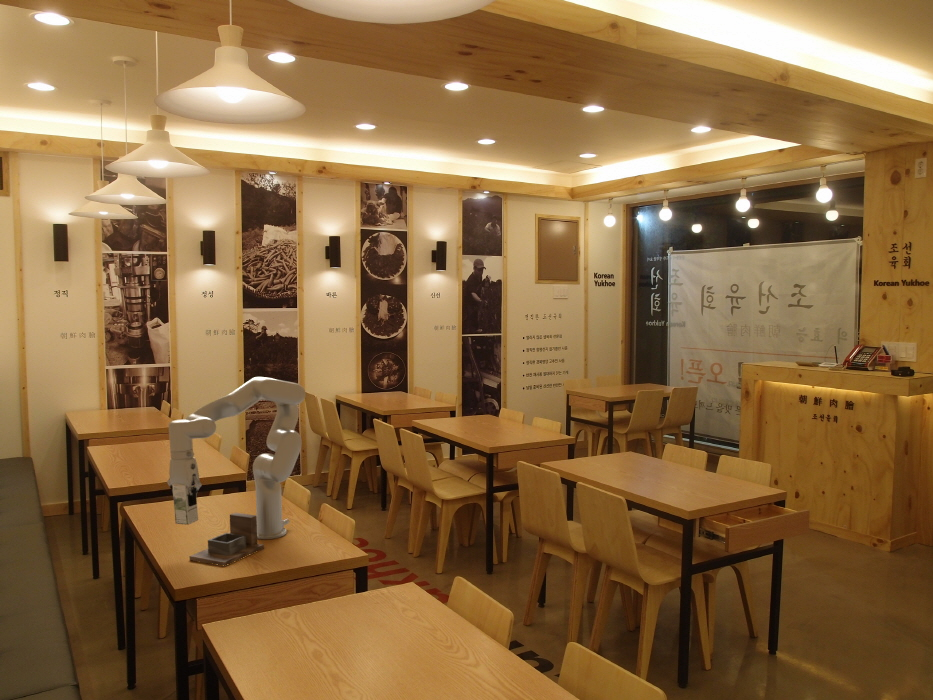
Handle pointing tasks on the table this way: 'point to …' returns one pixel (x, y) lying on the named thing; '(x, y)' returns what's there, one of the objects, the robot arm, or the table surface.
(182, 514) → the syrup box
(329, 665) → the table surface
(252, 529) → the post bracket stand
